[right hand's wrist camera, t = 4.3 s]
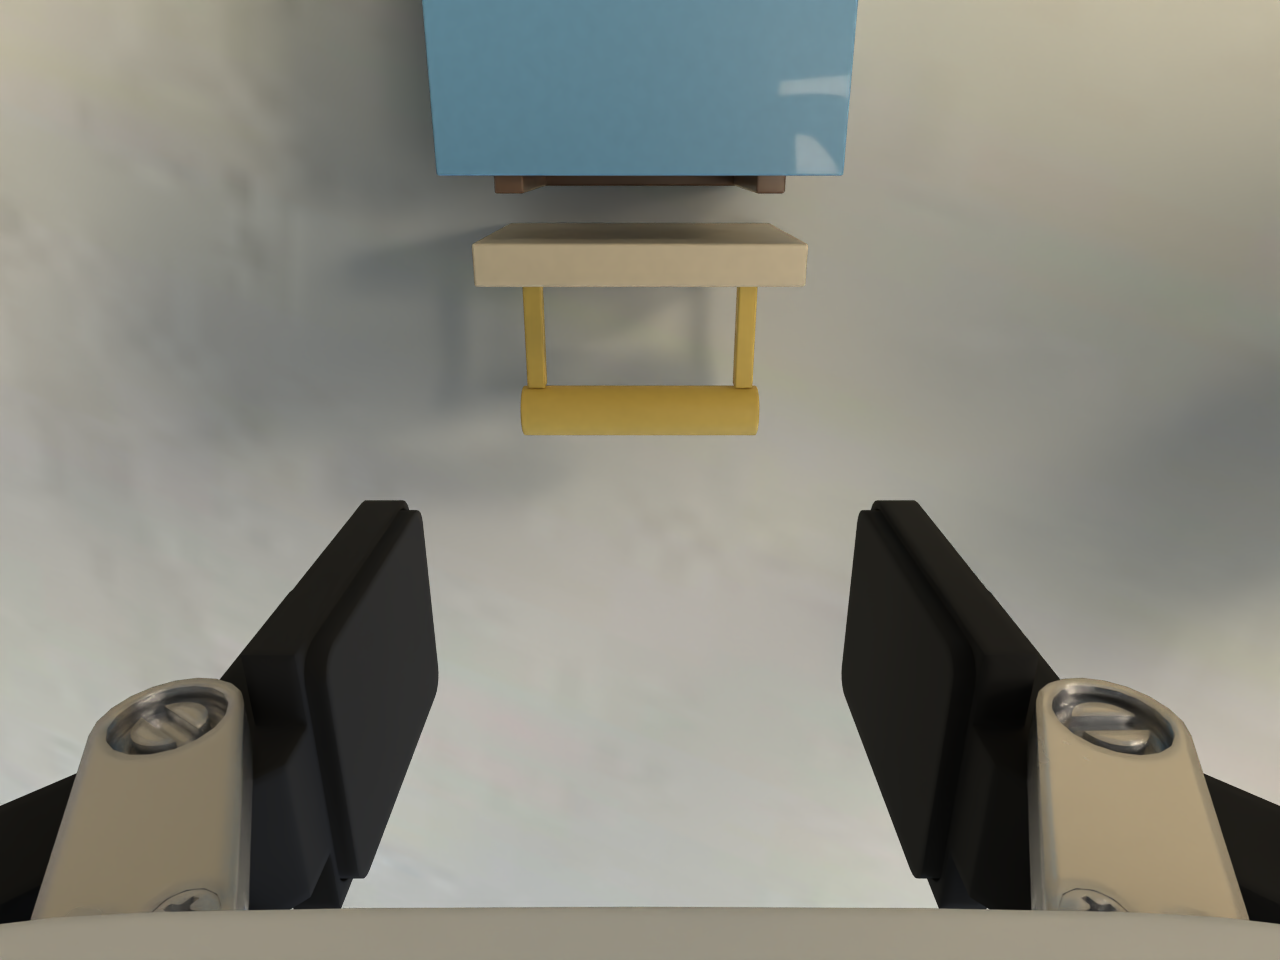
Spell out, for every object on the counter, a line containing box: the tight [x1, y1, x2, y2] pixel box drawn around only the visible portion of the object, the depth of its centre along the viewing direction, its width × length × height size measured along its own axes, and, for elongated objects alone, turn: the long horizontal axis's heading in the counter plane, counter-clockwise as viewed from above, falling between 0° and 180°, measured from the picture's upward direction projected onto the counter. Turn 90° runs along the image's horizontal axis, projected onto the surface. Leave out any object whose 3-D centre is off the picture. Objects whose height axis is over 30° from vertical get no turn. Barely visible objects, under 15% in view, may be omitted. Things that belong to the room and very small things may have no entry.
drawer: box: [472, 176, 808, 435], centre depth 25 cm, size 23×9×7 cm, turn 0°
